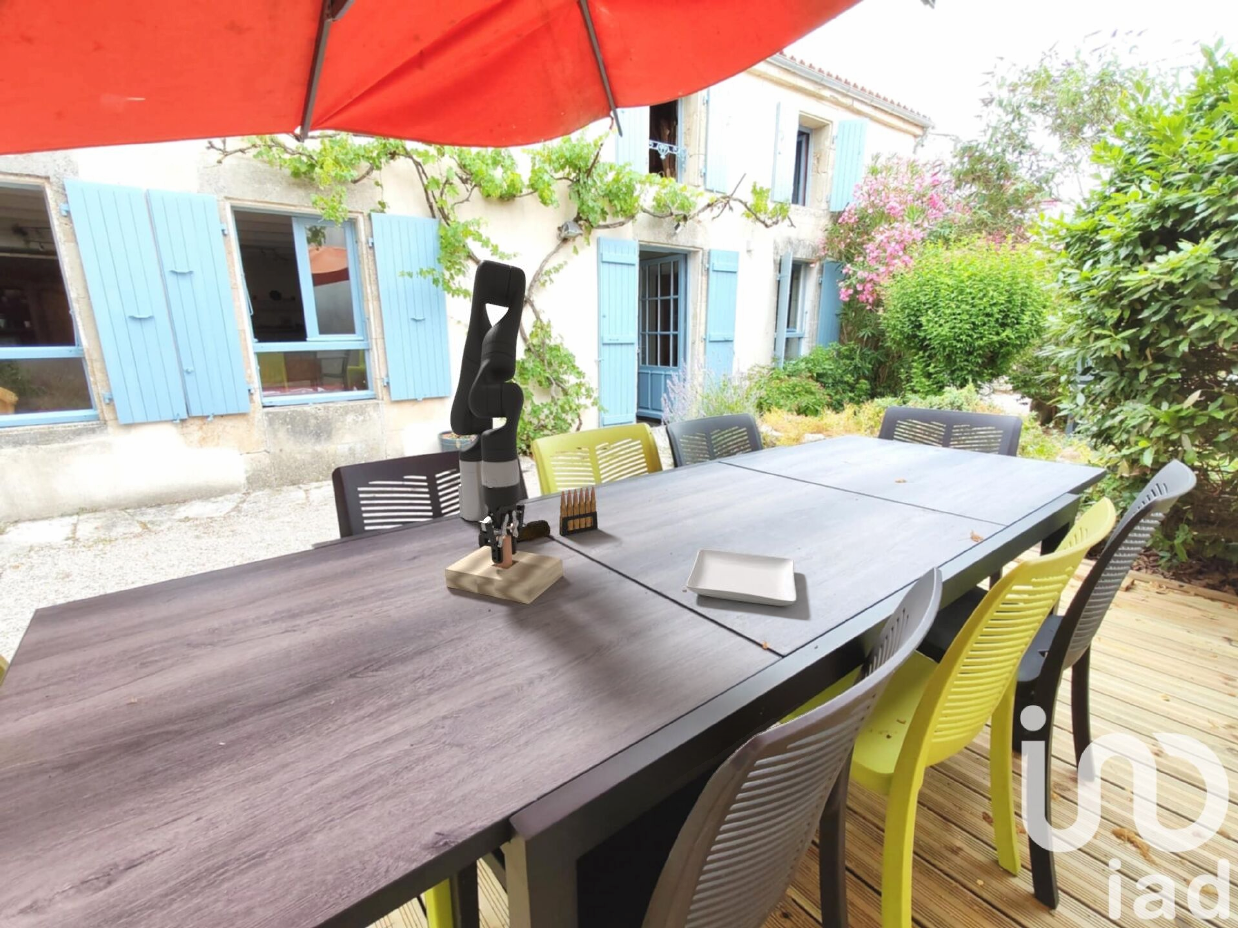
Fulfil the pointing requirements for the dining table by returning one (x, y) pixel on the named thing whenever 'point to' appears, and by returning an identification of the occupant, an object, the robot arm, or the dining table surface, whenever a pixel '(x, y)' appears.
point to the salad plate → (743, 577)
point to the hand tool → (529, 531)
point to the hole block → (505, 575)
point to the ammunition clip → (578, 513)
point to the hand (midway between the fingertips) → (504, 557)
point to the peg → (506, 552)
